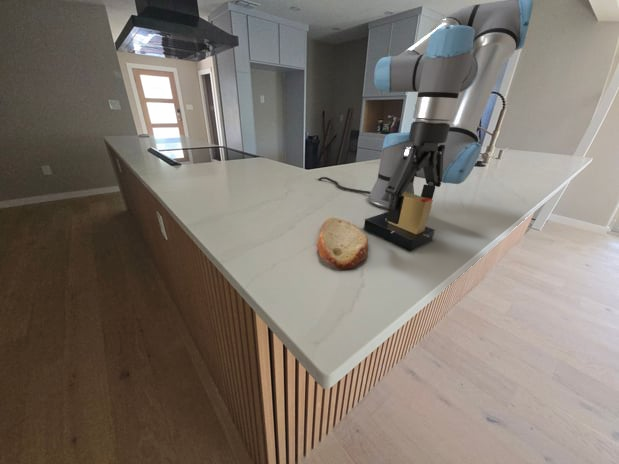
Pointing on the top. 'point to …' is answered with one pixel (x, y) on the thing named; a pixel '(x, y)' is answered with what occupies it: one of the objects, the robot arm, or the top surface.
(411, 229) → the wooden block
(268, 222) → the top surface
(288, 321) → the top surface
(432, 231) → the black flat block
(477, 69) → the robot arm
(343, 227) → the bread slice
